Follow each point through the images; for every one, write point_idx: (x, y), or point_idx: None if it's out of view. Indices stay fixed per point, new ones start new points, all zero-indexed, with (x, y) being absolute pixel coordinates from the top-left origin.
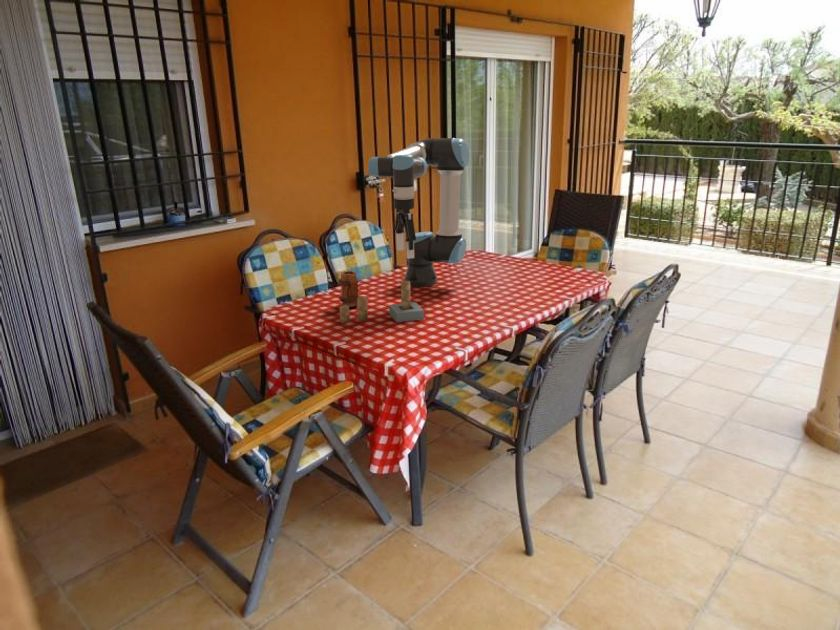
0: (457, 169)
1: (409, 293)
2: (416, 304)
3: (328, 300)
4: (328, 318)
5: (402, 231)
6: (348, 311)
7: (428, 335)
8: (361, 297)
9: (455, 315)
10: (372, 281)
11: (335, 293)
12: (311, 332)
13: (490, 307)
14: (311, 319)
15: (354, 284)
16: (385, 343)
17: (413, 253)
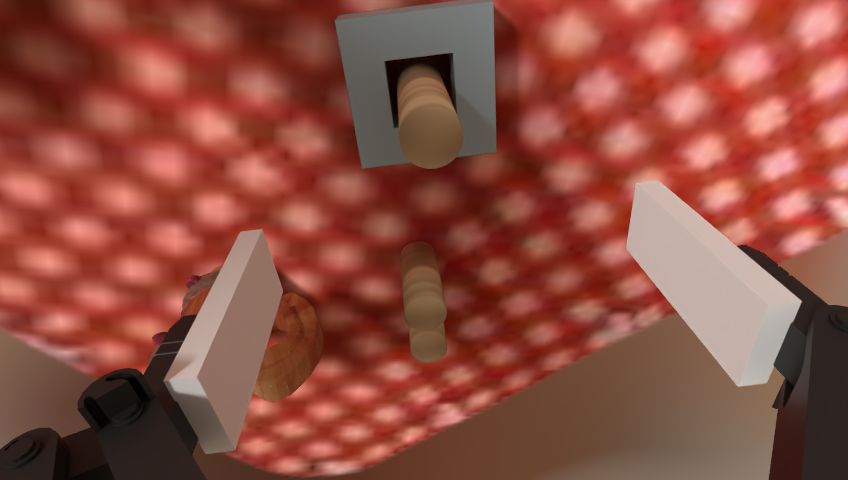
0: None
1: (447, 96)
2: (379, 23)
3: None
4: (378, 351)
5: (167, 414)
6: (438, 326)
7: (701, 26)
8: (425, 316)
9: None
10: None
11: (61, 328)
12: (496, 388)
13: None
14: (378, 390)
15: (315, 359)
16: (690, 206)
17: (682, 211)
